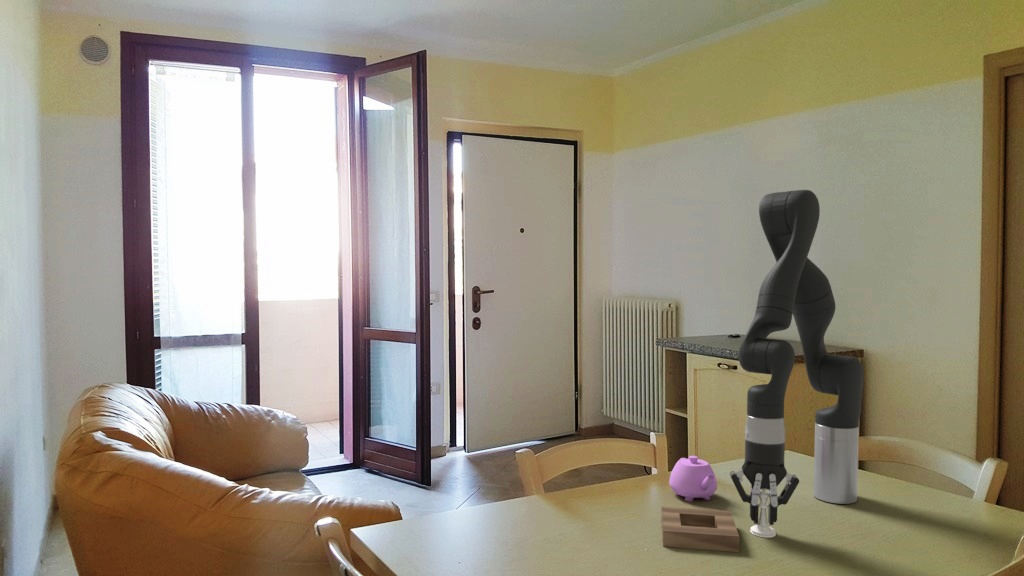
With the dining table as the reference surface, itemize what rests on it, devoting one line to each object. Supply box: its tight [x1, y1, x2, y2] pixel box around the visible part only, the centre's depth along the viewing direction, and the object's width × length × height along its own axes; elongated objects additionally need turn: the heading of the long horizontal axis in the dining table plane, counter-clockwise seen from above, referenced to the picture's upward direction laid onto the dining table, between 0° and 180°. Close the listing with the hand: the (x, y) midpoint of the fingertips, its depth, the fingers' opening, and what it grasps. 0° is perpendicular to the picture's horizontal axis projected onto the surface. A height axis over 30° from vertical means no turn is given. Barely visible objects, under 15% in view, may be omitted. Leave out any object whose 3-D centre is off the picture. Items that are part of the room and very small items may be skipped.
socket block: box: [660, 506, 740, 553], centre depth 143 cm, size 14×14×3 cm
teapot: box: [668, 455, 718, 502], centre depth 167 cm, size 10×15×9 cm
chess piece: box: [749, 488, 777, 539], centre depth 145 cm, size 5×5×10 cm
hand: (763, 522), depth 145 cm, fingers open, 2 cm apart
